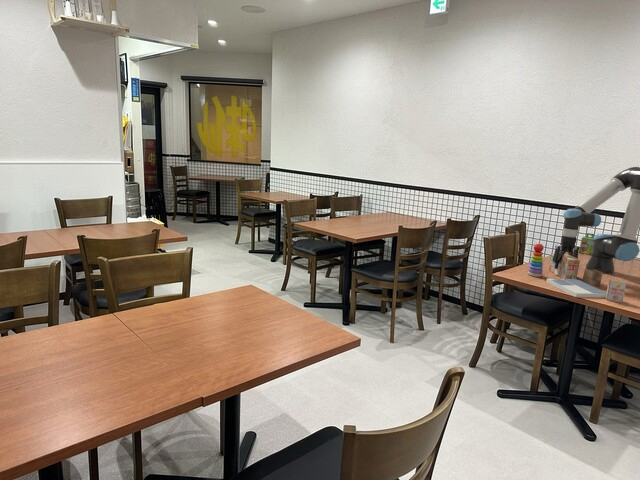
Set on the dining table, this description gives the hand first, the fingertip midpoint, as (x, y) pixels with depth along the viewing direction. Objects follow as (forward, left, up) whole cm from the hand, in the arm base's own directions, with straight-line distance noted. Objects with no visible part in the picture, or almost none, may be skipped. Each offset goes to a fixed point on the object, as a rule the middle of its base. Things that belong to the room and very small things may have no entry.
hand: (562, 274), depth 259 cm
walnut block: (-5, +17, -1) cm, 18 cm away
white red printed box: (+2, +42, -1) cm, 42 cm away
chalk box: (-60, -59, -1) cm, 84 cm away
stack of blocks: (0, 0, -1) cm, 1 cm away
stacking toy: (+18, +1, -1) cm, 18 cm away
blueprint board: (+10, +26, -1) cm, 28 cm away
